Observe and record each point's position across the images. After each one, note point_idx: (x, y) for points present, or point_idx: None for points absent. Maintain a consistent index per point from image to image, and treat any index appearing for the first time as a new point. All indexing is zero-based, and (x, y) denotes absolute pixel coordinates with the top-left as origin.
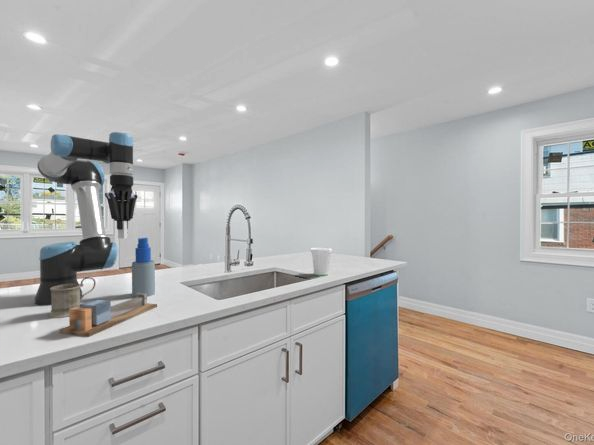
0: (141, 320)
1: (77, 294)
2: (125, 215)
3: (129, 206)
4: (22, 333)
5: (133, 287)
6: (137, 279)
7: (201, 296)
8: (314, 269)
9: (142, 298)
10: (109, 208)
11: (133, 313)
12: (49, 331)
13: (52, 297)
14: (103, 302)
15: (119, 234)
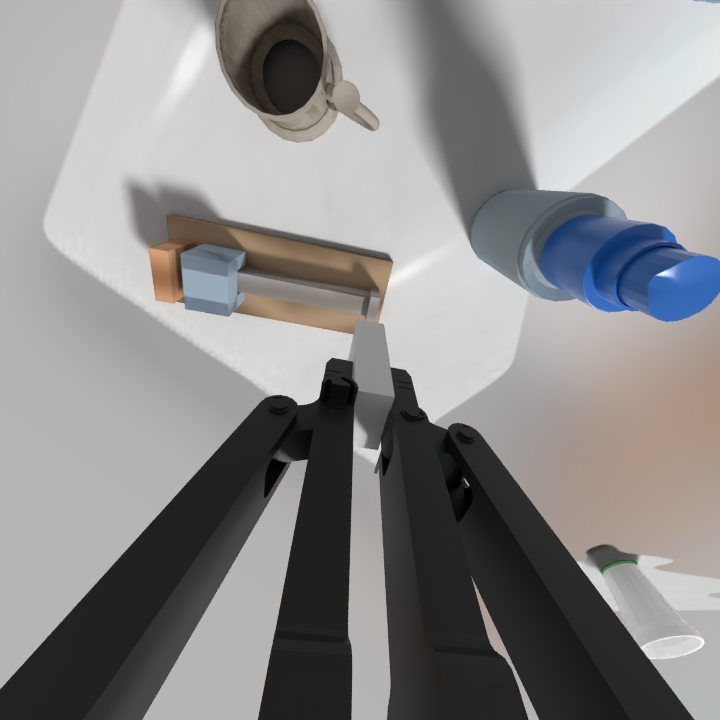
0: (280, 347)
1: (289, 122)
2: (382, 483)
3: (515, 602)
4: (131, 103)
5: (491, 212)
6: (493, 239)
7: (460, 398)
8: (626, 575)
9: (362, 314)
10: (177, 494)
11: (299, 320)
12: (168, 176)
13: (233, 35)
14: (213, 306)
15: (354, 341)
